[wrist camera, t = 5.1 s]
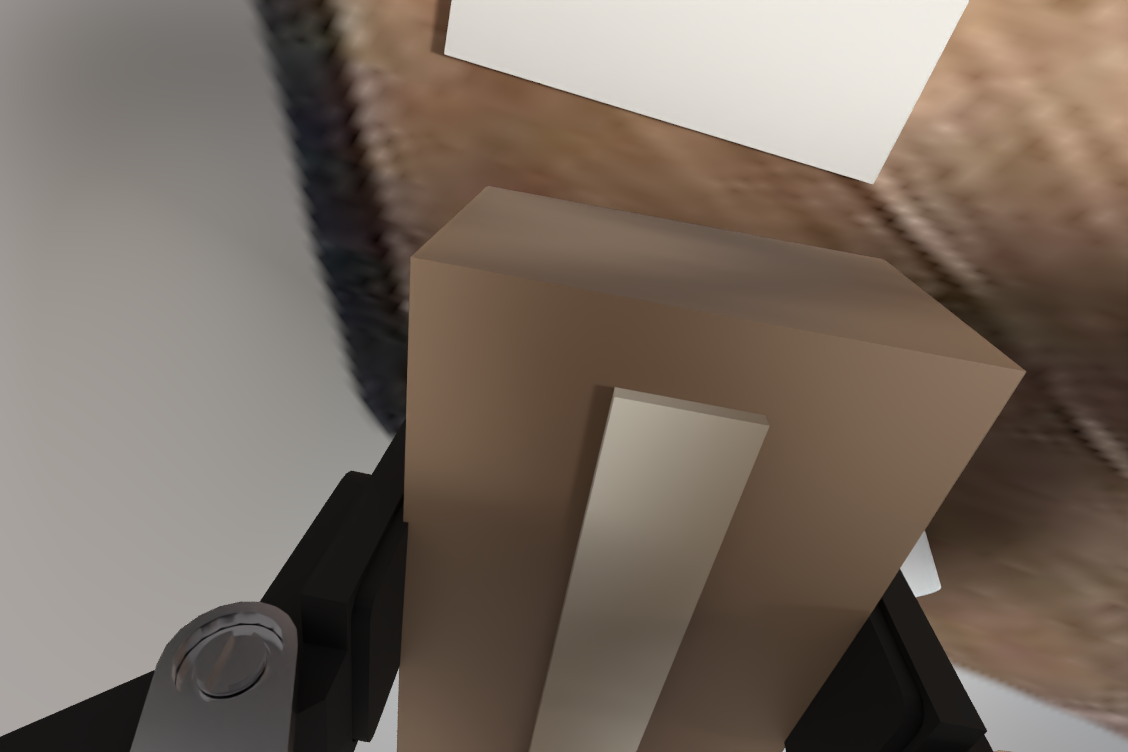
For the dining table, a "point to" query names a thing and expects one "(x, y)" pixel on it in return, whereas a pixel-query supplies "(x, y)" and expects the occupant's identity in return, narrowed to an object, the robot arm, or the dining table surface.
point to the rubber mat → (729, 65)
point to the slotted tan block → (659, 474)
